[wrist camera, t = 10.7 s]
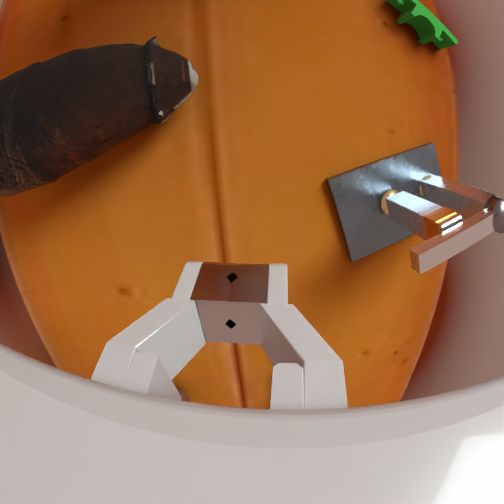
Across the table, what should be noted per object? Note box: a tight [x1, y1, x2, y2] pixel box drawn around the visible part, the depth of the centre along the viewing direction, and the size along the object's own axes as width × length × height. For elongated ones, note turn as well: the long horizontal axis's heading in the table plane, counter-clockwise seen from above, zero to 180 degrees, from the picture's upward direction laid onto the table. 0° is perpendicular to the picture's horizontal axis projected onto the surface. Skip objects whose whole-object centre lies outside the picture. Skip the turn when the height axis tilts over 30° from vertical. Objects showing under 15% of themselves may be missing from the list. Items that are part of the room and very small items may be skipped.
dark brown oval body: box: [0, 36, 198, 197], centre depth 23 cm, size 15×15×25 cm
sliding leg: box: [385, 191, 462, 241], centre depth 28 cm, size 3×3×13 cm
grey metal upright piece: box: [409, 175, 504, 274], centre depth 27 cm, size 4×15×15 cm, turn 112°
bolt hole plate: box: [326, 143, 441, 262], centre depth 34 cm, size 12×18×1 cm, turn 112°
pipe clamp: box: [386, 0, 458, 49], centre depth 23 cm, size 11×4×5 cm, turn 59°
